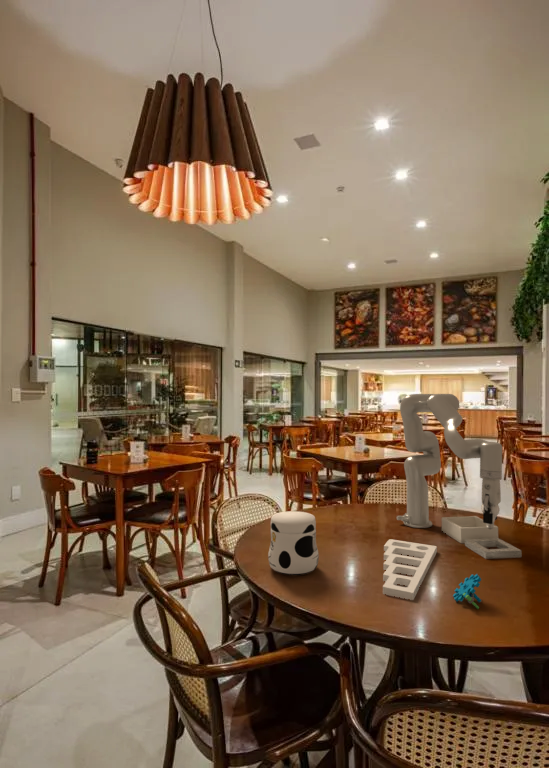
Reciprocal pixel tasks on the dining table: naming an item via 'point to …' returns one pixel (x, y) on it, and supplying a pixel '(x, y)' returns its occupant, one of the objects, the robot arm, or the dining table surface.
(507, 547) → the socket collar
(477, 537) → the bin
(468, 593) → the blue lumpy piece
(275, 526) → the milk container
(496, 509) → the lightbulb
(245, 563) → the dining table surface
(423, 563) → the holder
